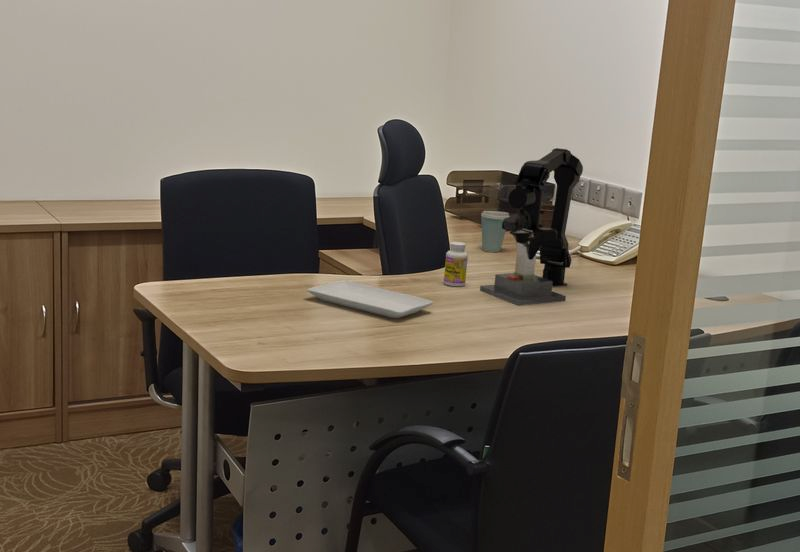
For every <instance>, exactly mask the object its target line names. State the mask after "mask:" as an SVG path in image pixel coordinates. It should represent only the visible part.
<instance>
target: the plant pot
mask: <svg viewBox="0 0 800 552" xmlns="http://www.w3.org/2000/svg"><path fill="white" fill-rule="evenodd" d="M541 210H544V214H541V215H540V224H543V225H542V228H551V222H552V216H553V210H554V204H544V203H542V205H541ZM529 237H532V233H530V236H529ZM528 242H529V241H528ZM541 246H542V245H541ZM540 248H541V247H540ZM540 248H539V250H538V251H540Z"/></svg>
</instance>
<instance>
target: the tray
mask: <svg viewBox="0 0 800 552" xmlns="http://www.w3.org/2000/svg"><path fill="white" fill-rule="evenodd" d="M306 291H307V292H308V293H309V294H311V295H312V296H315V297H316V298H318V299H320V300H321V301H323V302H326V303H327V302H328V303H332V304H336V305H340V306H343V307H348V308H351V309H356V310H359V311H363V312H367V313H369V314H370V313H371V314H375V315H379V316H383V317H386V318H391V319H399V318H403V317H406V316H410V315H414V314H416V313H418V312H420V311H422V310H424V309H427V308H428V307H430V306H432V305H433V304H434V301H432V300H430V299H429V298H428V299H427V298H424V297H419V296H416V295H415V296H414V295H410V294H406V293H402V292H397V291H392V290H390V289H384V288H381V287H376V286H372V285H368V284H363V283H359V282H356V281H355V282H354V281H350V280H347V279H346V280H345V279H342V280H341V279H340V280H337V281H333V282H329V283H324V284H321V285H317V286H316V285H315V286H313V287H309V288H307V289H306Z"/></svg>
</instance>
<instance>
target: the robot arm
mask: <svg viewBox="0 0 800 552" xmlns="http://www.w3.org/2000/svg"><path fill="white" fill-rule="evenodd" d="M583 171H584V166H583V163H582V162H581V160H580V158H578V157H577V156H575V155H574V154H573V153H571V150H568V148H557V147H556V148H553V149H551V152H549V153H547V154H546V155H545V156H543V157H541V158H540V159H537V160H529V161H528V160H527V161H526V162H524V163H523V165H522V166H521V168H520V170H519V173H518V175H517V178H516V180H515V183H514V185H515V188H513V189H512V190H511V191H510V193H509V194H508V203H509V204H510V206H511V207H512V208H514V209H517V210H516V213H515V214H512V215H509V216H510V217H507V218H505V219H504V220H503V222H502V229H505V230H506V231H509V234H510V235H512V236H513V237H514V239H515V242H528V241H529V260H532V259H533V258H534V256H535V255H536V256H537V254H538V251H539V262H540V265H543V266H544V267H543V269H542V276H541V277H542V278H545V279H548V280H551V281H553V284H552V287H560V286H567V285H568V283H566V282H565V275H566V269H567V268H571V264H572V258H571V253H570V252H569V242H568V239H567V237H566V229H567V223H568V218H569V212H570V207H571V200H572V196H573V195H572V194H573V189H574V188H575V187H576V185H578V183H579V182H580V181H581V180H580V179H581V176H582V174H583ZM552 172H553V179H554V181H555V184H556V186H557V187H556V193H555V199H554V204H553V205H554V210H553V216H552V222H551V228H542V225H543V224H540V215H541V214H544V210H541V205H542V204H543V195H544V194H543V193H544V190H546V187H545V185H546V184H547V182H548V180H549V179H550V175H551V173H552ZM530 233H532V237H529V236H530ZM541 245H542V246H541ZM516 246H517V247H518V245H516ZM540 247H541V248H540ZM539 248H540V250H539Z"/></svg>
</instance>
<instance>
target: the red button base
mask: <svg viewBox="0 0 800 552" xmlns="http://www.w3.org/2000/svg"><path fill="white" fill-rule="evenodd" d="M552 284H553V281H551V280H548V279H545V278H542V276H539V275H534V279H530V280H521V279H519V277H516V276H515V275H514V272H512V273H497V274H495V278H494V284H488V285H487V284H486V285H480V286H479V291H480V292H482V293H485V294H487V295H489V296H492V297H496V298H499V299H501V300H504V301H505V302H509V303H511V304H513V305H516V306H525V305H537V304H538V305H539V304H546V303H558V302H566V299H567V298H566V295H564V294H562V293H558V292H555V291H553V286H552Z"/></svg>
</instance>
